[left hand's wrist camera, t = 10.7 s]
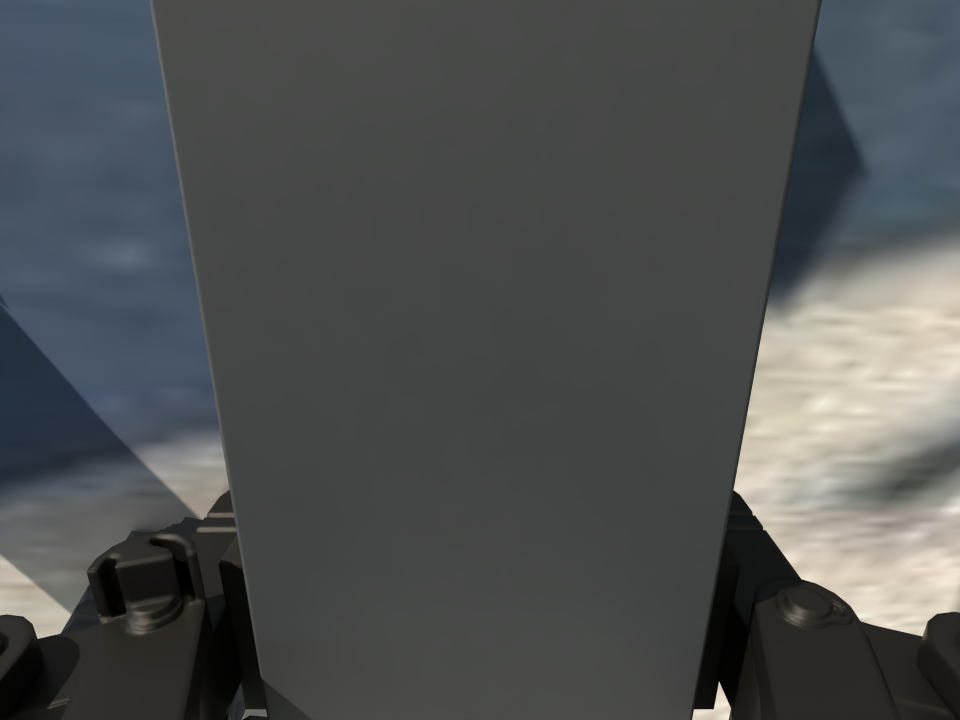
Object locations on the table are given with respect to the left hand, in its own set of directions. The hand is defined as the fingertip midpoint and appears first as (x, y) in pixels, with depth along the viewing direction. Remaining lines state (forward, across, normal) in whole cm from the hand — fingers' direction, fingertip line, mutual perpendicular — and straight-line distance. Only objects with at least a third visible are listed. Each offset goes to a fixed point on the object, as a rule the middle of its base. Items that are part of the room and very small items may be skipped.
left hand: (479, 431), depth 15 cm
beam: (+1, 0, -19) cm, 19 cm away
